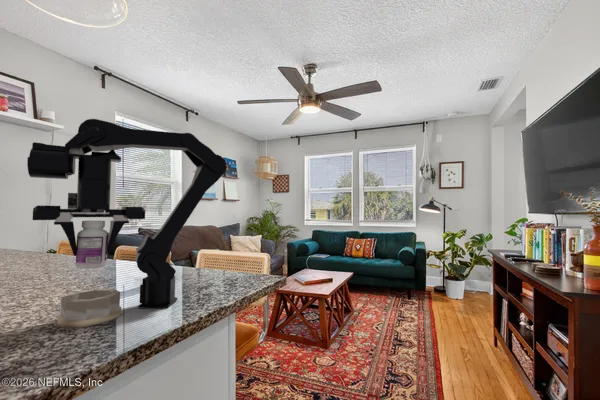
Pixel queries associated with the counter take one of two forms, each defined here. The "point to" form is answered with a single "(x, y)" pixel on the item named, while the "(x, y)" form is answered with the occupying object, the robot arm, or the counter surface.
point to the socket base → (89, 308)
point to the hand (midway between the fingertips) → (92, 254)
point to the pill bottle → (92, 245)
